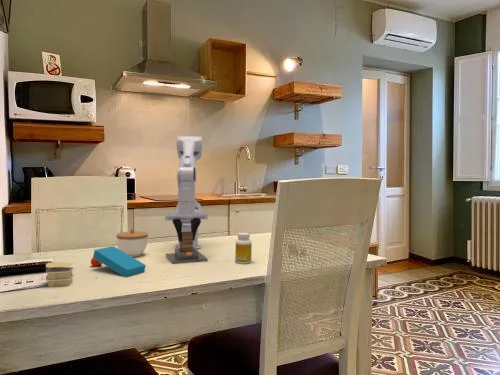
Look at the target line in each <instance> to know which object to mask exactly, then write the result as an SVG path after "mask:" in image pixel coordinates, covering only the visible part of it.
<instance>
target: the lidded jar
mask: <svg viewBox="0 0 500 375" xmlns="http://www.w3.org/2000/svg"><path fill="white" fill-rule="evenodd" d="M134 230H135V229H134V228H131V229H130V231H122V232H118V233H116V246H117V248H118V249H119V250H121V251H123V252H124V253H126V254H128V255H129V256H131V257H133V258H138V257H140V256H142V254H143V253H144V252H145V250H146V248H147V246H148V236H149V234H148V232H147V231H146V232H145V231H134Z"/></svg>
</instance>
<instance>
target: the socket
mask: <svg viewBox="0 0 500 375" xmlns="http://www.w3.org/2000/svg"><path fill="white" fill-rule="evenodd" d="M165 257H166V258H167V260H168V261H169V262H170V263H171V264H173V265H175V264H186V263H187V264H188V263H199V262H200V263H201V262H202V263H203V262H208V261H209V259H208V257H206V256H205V255H204V254H202V252H200V251H199V250H198V249H195V248H194V247H193V251H184V252H181V251H180V248H178V247H177V248H174V252H172V253H165Z"/></svg>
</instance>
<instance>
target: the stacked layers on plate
mask: <svg viewBox="0 0 500 375" xmlns="http://www.w3.org/2000/svg"><path fill="white" fill-rule="evenodd" d="M72 265H74V262H62V261H56V262H55V261H52V262H48V263H46V265H45V268H46V269H45V274H47V275H46V277H45V281H47V287H50V288H51V287H52V288H53V287H60V286H61V287H64V286H70V285H71V284H72V283H73V277H74V276H75V275H74V274H73V270H74V269H75V267H72Z"/></svg>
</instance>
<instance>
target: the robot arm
mask: <svg viewBox="0 0 500 375" xmlns="http://www.w3.org/2000/svg"><path fill="white" fill-rule="evenodd" d="M176 151H177V157H178V159H179V166H178V167H177V170H176V181H177V190H178V191H177V195H178V196H177V198H178V199H177V200H178V201H177V204H176V207H175V208H176V209H175V213H170V214H167V213H165V214H164V221H166V222H167V221H168V222H169V221H172V224H173V226H174V228H175V231H176V234H177V241H178V242H177V243H176V244H175V246H176V247H177V248H180V241H182V232H192V233H193V247H194V248H195V249H196V250H198V249H199V250H200V249H201V248H202V247H201V246H199V239H198V238H199V236H198V235H199V227H200V225H201V223H202V220H208V214H209V213H207V212H204V213H203V212H202V205H201V204H200V203H199V202H198V201H197V200H196V183H197V167H196V166H197V165H196V164H197V161H198V160H200V159H201V158H202V151H203V137H202V136H201V135H199V136H192V135H191V136H189V135H188V136H186V135H183V136H182V135H178V136H177V138H176Z"/></svg>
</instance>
